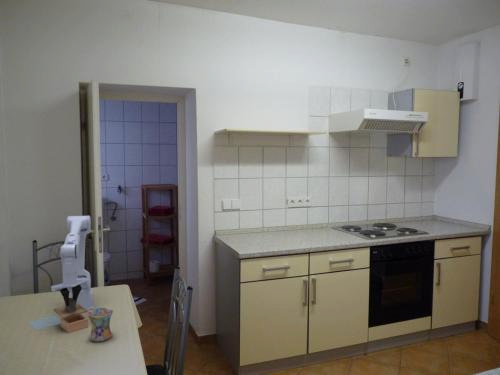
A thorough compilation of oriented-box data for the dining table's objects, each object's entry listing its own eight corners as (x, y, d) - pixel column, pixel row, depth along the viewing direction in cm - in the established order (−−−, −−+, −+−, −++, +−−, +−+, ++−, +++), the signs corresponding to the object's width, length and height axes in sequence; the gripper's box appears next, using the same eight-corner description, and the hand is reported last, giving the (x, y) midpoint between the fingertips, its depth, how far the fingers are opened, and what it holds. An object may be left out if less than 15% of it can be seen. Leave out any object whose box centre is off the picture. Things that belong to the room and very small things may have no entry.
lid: (77, 304, 174) (77, 293, 174) (87, 311, 167) (87, 300, 167) (53, 310, 167) (53, 299, 167) (62, 318, 160) (62, 306, 160)
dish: (80, 322, 173) (79, 313, 172) (88, 328, 167) (87, 318, 167) (60, 327, 167) (60, 318, 167) (68, 334, 161) (68, 324, 161)
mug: (115, 339, 157) (115, 313, 156) (90, 345, 152) (90, 318, 151) (108, 328, 167) (108, 303, 166) (84, 333, 162) (84, 308, 161)
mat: (54, 316, 179) (54, 315, 179) (63, 323, 171) (63, 322, 171) (27, 323, 171) (27, 322, 171) (36, 331, 163) (36, 330, 163)
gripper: (55, 278, 158) (56, 311, 159) (91, 271, 168) (92, 302, 169) (49, 274, 163) (49, 306, 164) (84, 267, 173) (85, 298, 174)
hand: (70, 304), depth 167 cm, fingers closed on lid, 2 cm apart
